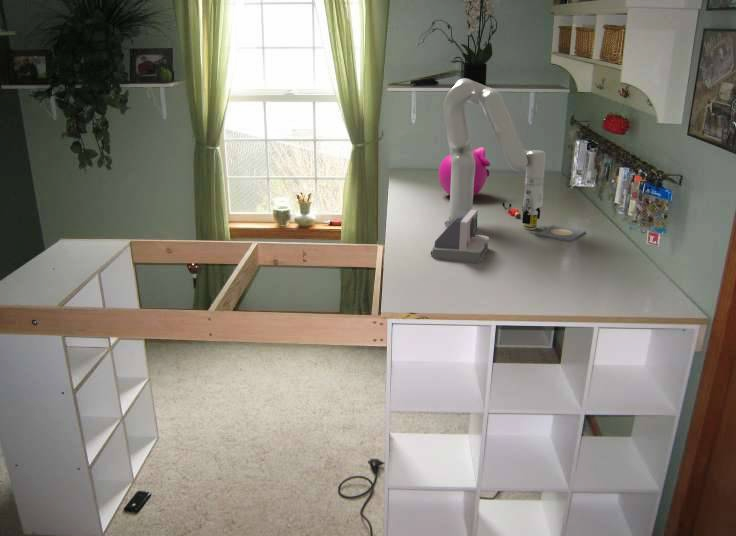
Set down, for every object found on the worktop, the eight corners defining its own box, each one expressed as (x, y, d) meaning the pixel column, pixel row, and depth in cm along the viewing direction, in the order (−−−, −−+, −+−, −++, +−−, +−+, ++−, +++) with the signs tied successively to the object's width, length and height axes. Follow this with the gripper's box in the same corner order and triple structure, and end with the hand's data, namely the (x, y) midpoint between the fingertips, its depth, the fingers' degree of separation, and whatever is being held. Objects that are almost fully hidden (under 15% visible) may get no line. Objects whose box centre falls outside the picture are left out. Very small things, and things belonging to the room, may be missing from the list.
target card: (571, 241, 259) (571, 239, 259) (537, 235, 267) (537, 233, 267) (585, 232, 271) (585, 230, 271) (553, 226, 279) (553, 224, 279)
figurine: (496, 198, 326) (499, 148, 317) (459, 205, 313) (462, 152, 305) (464, 189, 344) (466, 141, 336) (428, 195, 331) (430, 145, 323)
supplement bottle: (533, 230, 273) (535, 207, 270) (521, 228, 276) (523, 206, 273) (538, 227, 278) (540, 205, 274) (525, 225, 280) (527, 203, 277)
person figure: (511, 199, 307) (522, 209, 290) (513, 207, 308) (524, 217, 291) (501, 203, 307) (511, 213, 290) (503, 211, 308) (513, 221, 291)
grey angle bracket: (476, 266, 232) (478, 225, 227) (422, 256, 242) (424, 217, 237) (496, 250, 250) (498, 211, 244) (445, 241, 259) (447, 204, 254)
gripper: (534, 185, 261) (530, 227, 267) (551, 178, 274) (547, 217, 280) (516, 183, 266) (513, 224, 272) (534, 176, 279) (531, 215, 284)
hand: (530, 220), depth 276 cm, fingers open, 9 cm apart
